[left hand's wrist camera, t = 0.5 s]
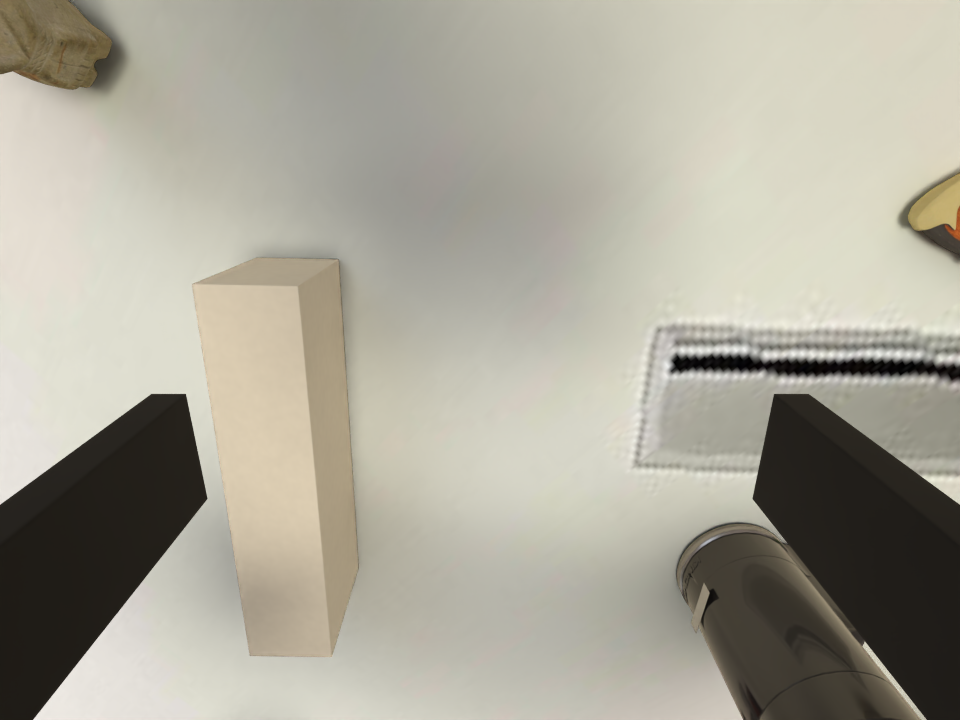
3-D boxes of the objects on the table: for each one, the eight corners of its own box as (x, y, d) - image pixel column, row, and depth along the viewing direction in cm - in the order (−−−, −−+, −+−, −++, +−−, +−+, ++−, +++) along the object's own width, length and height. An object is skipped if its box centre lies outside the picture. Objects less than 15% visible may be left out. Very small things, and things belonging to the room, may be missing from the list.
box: (256, 257, 39) (191, 283, 30) (338, 259, 39) (298, 286, 30) (291, 566, 47) (249, 656, 39) (358, 567, 47) (331, 657, 39)
